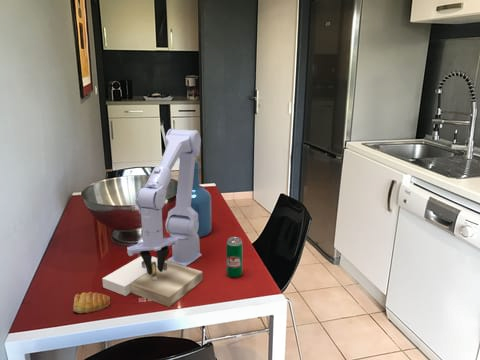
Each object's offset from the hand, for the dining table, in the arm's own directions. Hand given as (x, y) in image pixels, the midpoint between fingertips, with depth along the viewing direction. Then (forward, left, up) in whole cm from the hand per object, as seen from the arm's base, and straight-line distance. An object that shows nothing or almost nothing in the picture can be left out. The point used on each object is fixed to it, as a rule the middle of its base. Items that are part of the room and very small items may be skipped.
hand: (154, 271), depth 116 cm
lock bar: (-2, -4, -2) cm, 5 cm away
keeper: (-6, -2, -2) cm, 7 cm away
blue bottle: (-40, -14, -6) cm, 42 cm away
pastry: (+16, -10, -6) cm, 20 cm away
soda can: (-19, +16, -6) cm, 25 cm away
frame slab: (-2, -9, -5) cm, 11 cm away
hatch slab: (-3, +3, -5) cm, 6 cm away
